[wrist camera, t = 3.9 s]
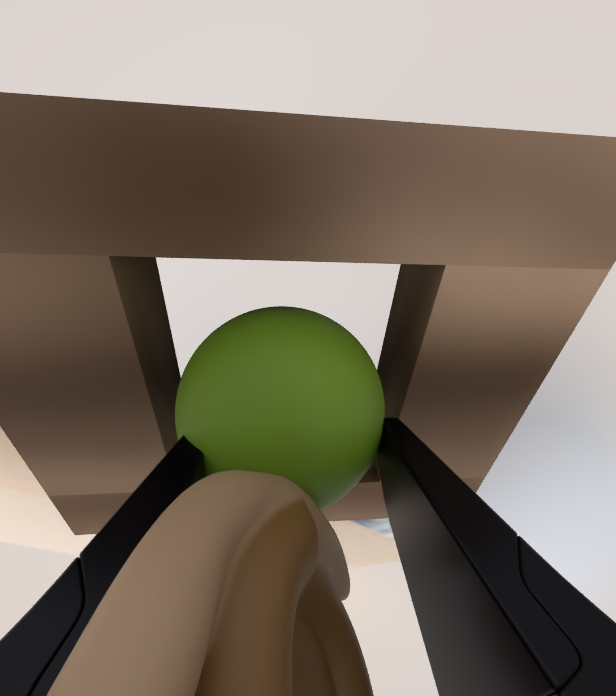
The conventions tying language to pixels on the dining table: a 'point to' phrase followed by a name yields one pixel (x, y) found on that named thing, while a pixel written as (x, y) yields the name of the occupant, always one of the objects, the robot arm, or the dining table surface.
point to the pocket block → (283, 245)
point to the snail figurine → (247, 526)
